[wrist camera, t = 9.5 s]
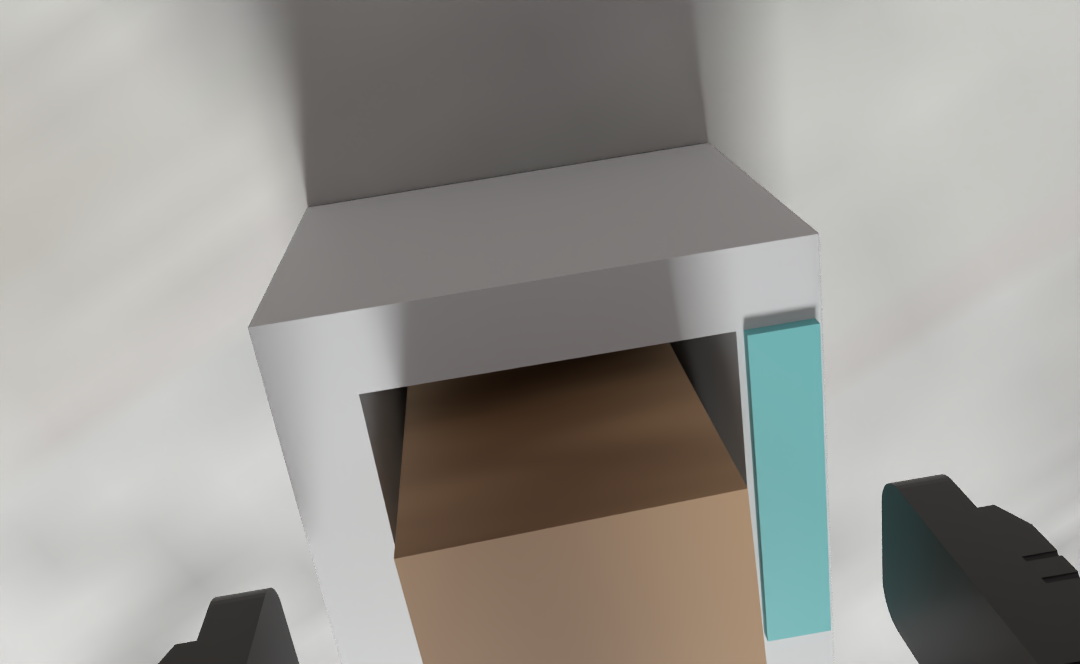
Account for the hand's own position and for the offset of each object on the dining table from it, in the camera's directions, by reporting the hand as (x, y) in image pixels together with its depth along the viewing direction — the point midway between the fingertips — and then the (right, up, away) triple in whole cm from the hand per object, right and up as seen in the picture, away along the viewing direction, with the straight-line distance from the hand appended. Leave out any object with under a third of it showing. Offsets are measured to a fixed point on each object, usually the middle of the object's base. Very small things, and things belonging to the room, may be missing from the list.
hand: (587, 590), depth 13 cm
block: (-1, +3, +7) cm, 8 cm away
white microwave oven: (-1, +3, +7) cm, 8 cm away
